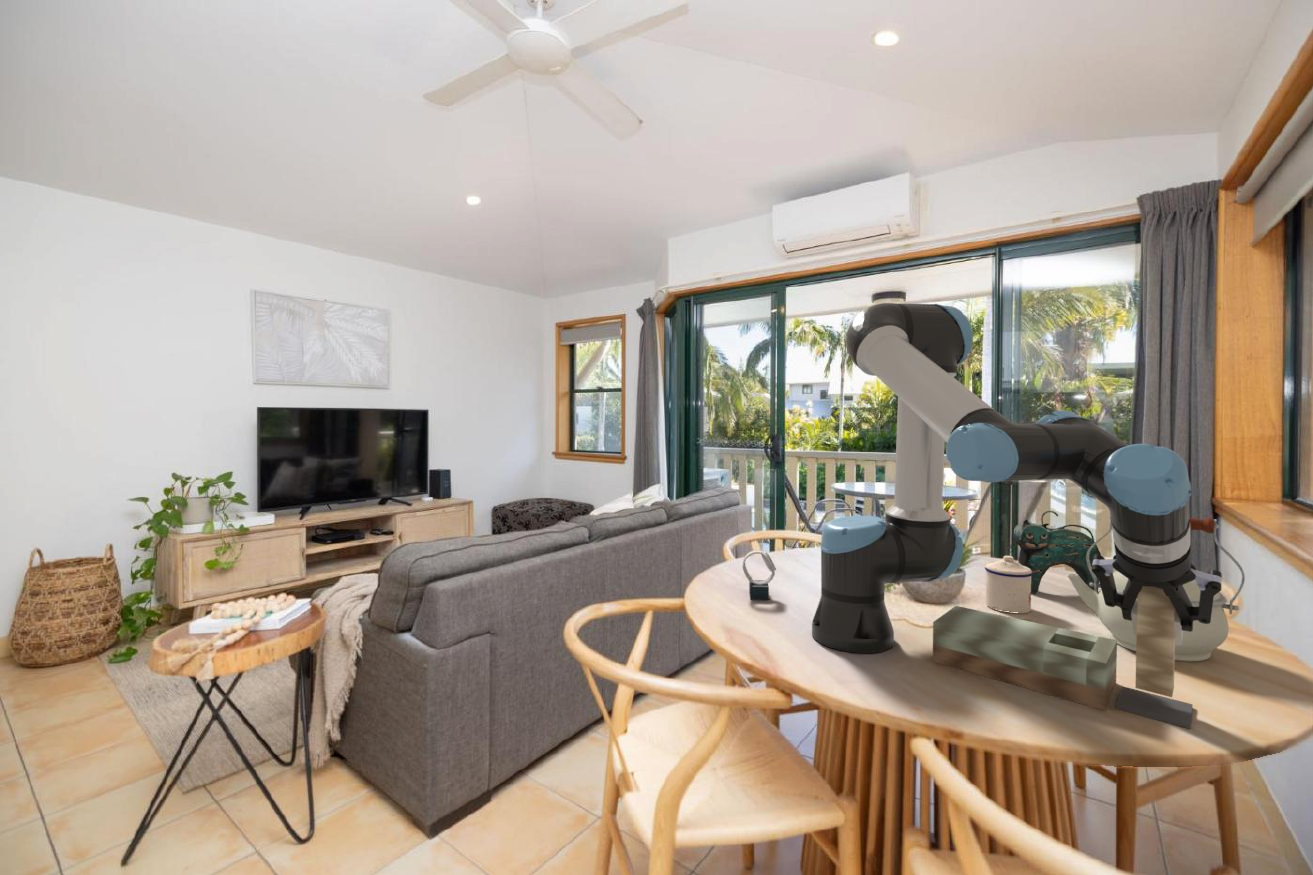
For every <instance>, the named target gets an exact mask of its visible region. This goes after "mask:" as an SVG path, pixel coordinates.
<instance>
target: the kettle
mask: <svg viewBox="0 0 1313 875" xmlns="http://www.w3.org/2000/svg"><path fill="white" fill-rule="evenodd" d="M1108 518H1109V519H1110V522H1109V529H1108V531H1107V532H1106V533H1104V534H1103V535H1102V536H1101V537H1100V538H1098V539H1097V540H1096V541H1094V542H1095V543H1094V544H1093V545H1092V546H1091V547H1090V548H1089V550H1088V551H1087V555H1086V560H1087V565H1088V568H1089V570H1090V573H1091V575H1092V577H1093V579H1094V583H1092V582H1091V583H1090V584H1089V585H1090V586H1091V587H1093V586H1094V590H1092V589H1091V588H1090V587H1089V586H1087V585H1086V584H1085V583H1084V581H1083V580H1082V579H1081V578H1080V576H1079V575H1078V574H1076V573H1068V574H1066V576H1067V577H1068V579H1069V581H1070V583H1071V584H1072V586H1073V588H1074V589H1075V591H1076V592H1077V594H1078V595H1079V597H1080V599H1081V600H1082V601H1083V602H1084V603H1085V604H1086V605H1087V606H1088V608H1090V609H1091V610H1092V611H1093V612H1095V613H1096V615H1097V617H1098V619H1099V621H1100V623H1102V625H1103V626H1104V627H1105V628H1106V629H1107V630H1108V631H1109V633H1108V636H1109V637H1110V638H1109V639H1113V640H1117V645H1119V646H1121V647H1123V648H1125V649H1126V650H1130V651H1132V652H1135V653H1136V644H1137V636H1134V633H1133V625H1132V621H1130V620H1125V619H1124V618H1123V615H1122V610H1121V608H1120V607H1118V606H1115V607H1109V606H1107V605H1106V604H1105V601H1104V597H1103V593H1102V589H1101V586H1100V582H1099V584H1098V583H1097V578H1096V576H1095V574H1094V573H1093V572H1092V567H1091V564H1090V560H1089V553H1090V550H1091V549H1092V548H1093V546H1094V545H1097V544H1098V543H1099V542H1100V541H1102V540H1103V539H1104V538H1105V537H1106V536H1107V535H1109V534H1110V532H1111V531H1112V522H1111V516H1110V514H1108ZM1189 520H1190V531H1203V532H1205V533H1206V534H1213V539H1214V542H1215V544H1216V546H1217V547H1218V548H1219V549H1221V551H1223V553H1224V554H1225V555H1226V556H1228V558H1229V559H1230V560H1231V561H1232V562H1234V564H1235V565H1236V566H1237V567H1238V569H1239V571H1240V573H1241V581H1240V583H1239V586H1238V588H1237V590H1236V592H1234V594H1233V595H1232V597H1231V598H1230V600H1229V603H1228V604H1227V601H1228V600H1227V597H1226V596H1225V595H1223V594H1222V593H1220V592H1218V593H1217V594H1216V595H1214V598H1213V606H1212V614H1211V622H1210V623H1209V624H1204V623H1201V622H1199V621H1198V620H1195V621H1193V631H1191V632H1189V631H1184V630H1183V636H1182V646H1180V645H1176V644H1175V662H1187V663H1188V662H1189V663H1190V662H1191V663H1192V662H1201V661H1202V662H1203V661H1206V660H1208V659H1210V658H1211V656H1212V651H1214V650H1215V649H1217V648H1218V647H1220V646H1221V645H1223V644H1224V642H1225V641H1226V640H1227V637H1228V635H1229V629H1230V628H1229V622H1228V618H1227V615H1226V612H1225V610H1226V609H1227V610H1228V611H1229V614H1230V615H1232V614H1233V611H1240V607H1239V606H1238V605H1234V604H1233V603H1234V602H1235V600H1236V599H1237V597H1238V596H1239V595H1240V593H1241V591H1242V589H1243V587H1244V584H1245V578H1246V577H1245V572H1244V569H1243V567H1242V566H1241V564H1240V563H1239V561H1237V560H1236V559H1235V558H1234V556H1233V555H1232V554H1231V553H1230V552H1229V551H1228V550H1226V549H1225V547H1223V546H1222V544H1221V543H1219V540H1218V538H1217V529H1219V528H1220V525H1219V524H1218V523H1217V519H1214V518H1212V517H1207V518H1204V519H1201V518H1195V517H1194V518H1193V517H1190V518H1189ZM1113 576H1114V580H1115V585H1116V589H1117V593H1118V594H1121V595H1123V590H1124V589H1125V587H1126V584H1127V582H1128V578H1127V577H1125V576H1124V575H1122V574H1121V573H1119V572H1118V571H1117V570H1115V569H1113ZM1183 587H1184V589H1185V591H1186V593H1187V595H1188V597H1189V599H1190V601H1191V603H1192V605H1193V607H1199V599H1200V589H1199V586H1198V585H1197V584H1196V581H1195V580H1193V581H1191V582H1188V583H1186V584H1183ZM1097 588H1098V589H1100V590H1098V592H1096V591H1097ZM1137 599H1138V596H1137Z"/></svg>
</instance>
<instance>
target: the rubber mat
mask: <svg viewBox="0 0 1313 875" xmlns="http://www.w3.org/2000/svg"><path fill="white" fill-rule="evenodd" d="M1115 709H1118V710H1121V711H1125V712H1128V713H1132V714H1135V715H1138V716H1143V717H1146V718H1149V719H1154V720H1157V721H1161V722H1164V723H1167V724H1171V725H1175V726H1178V727H1181V728H1185V729H1187V730H1188V729H1189V730H1191V724H1192V716H1193V703H1189V702H1184V701H1180V700H1178V699H1174V698H1171V697H1167V696H1163V695H1159V694H1158V695H1157V694H1155V693H1152V692H1151V693H1150V692H1148V691H1144V690H1140V689H1136V688H1135V689H1134V688H1131V687H1127V686H1122V687H1121V690H1120V692H1119V695H1118V698H1117V700H1116V703H1115Z"/></svg>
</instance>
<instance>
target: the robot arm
mask: <svg viewBox="0 0 1313 875" xmlns="http://www.w3.org/2000/svg"><path fill="white" fill-rule="evenodd" d="M845 336H846V337H845V347H846V352H847V353H848V356H849V358H850V359H851V361H852V363H854V364H855V366H856V367H857V368H859V370H861V372H863V373H864V374H867V375H868V376H876V377H877V378H878V379H879V380H880V381H881V382H882V383H883V384H884V385H885V386H886V387H888V389H890V391H891V392H892V393H894V395H895V396H896V397H897V417H896V418H897V419H896V421H897V422H896V444H895V445H896V446H895V447H896V450H895V470H894V471H895V474H894V476H895V477H894V496H893V497H894V501H893V504H892V505H891V506H890V507H888V508H887V509H886V510H885V520H884V519H883V518H882V517H879V516H876V515H875V516H874V515H867V514H865V515H863V514H862V515H849V516H848V515H847V516H842V517H836V518H834V519H831V520H829V521H827V523H825V524H824V526H823V527H822V530H821V538H820V539H821V540H820V544H819V546H820V549H821V550H820V553H821V554H820V555H821V557H820V560H821V561H820V573H821V575H820V579H821V580H820V582H821V583H820V584H821V587H820V588H821V590H820V592H821V593H820V595H821V596H820V599H819V600H818V601H819V602H818V604H817V607H816V610H815V613H814V616H813V620H812V622H811V636H812V637H813V638H814V640H815V641H817V642H818V643H820V644H821V645H824V646H826V647H828V648H832V649H835V650H838V651H840V652H841V651H842V652H846V653H853V654H854V653H855V654H856V653H857V654H876V653H882V652H886V651H888V650H890V649H891V648H892V647H894V645H895V631H894V628H893V625H892V624H893V623H892V620H891V619H890V615H889V613H888V609H887V606H886V603H885V586H886V585H885V584H897V583H898V584H899V583H900V584H901V583H916V582H924V583H931V582H934V581H936V580H938V581H939V580H944V579H947V578H949V577H951V575H953V574H954V573H956V571H957V570H958V569H959V568H960V565H961V563H962V561H963V555H964V542H963V539H962V537H960V534H961V533H960V531H959V529H958V528H957V527H956V526H955V525H954V523H951V515H950V514H949V513H948V512H947V511H946V510H945V509H944V507H943V491H944V489H943V488H944V468H945V467H944V465H945V457H946V460H947V461H949V463H950V469H951V471H952V472H953V473H954V475H956V476H957V477H959V478H960V479H963V480H965V481H970V482H982V483H983V482H984V483H989V484H990V483H999V482H1013V481H1014V482H1015V481H1017V482H1018V481H1035V480H1037V481H1040V480H1045V481H1046V480H1068V481H1072V482H1073V483H1075V484H1076V486H1078V487H1079V488H1081V489H1082V490H1083V491H1085V492H1087V493H1088V494H1089V495H1091V496H1092V497H1094V498H1095V499H1097V500H1098V501H1099V502H1101V503H1102V504H1104V506H1106V507H1107V509H1108V510H1109V515H1110V516H1111V518H1110V519H1111V522H1112V530H1111V531H1112V538H1113V541H1114V542H1113V544H1114V552H1115V555H1113V557H1112V558H1108V559H1106V558H1105V557H1104V556H1103V555H1102V554H1101V555H1094V558H1093V564H1092V572H1093V573H1094V574H1095V575H1096V576H1097V577H1098V578H1099V582H1100V583H1099V584H1100V586H1101V588H1100V590H1101V589H1102V593H1103V597H1104V601H1105V604H1106V605H1107V606H1109V607H1115V606H1118V607H1120V608H1121V610H1122V615H1123V618H1124V619H1125V620H1130V621H1132V625H1133V633H1134V636H1137V602H1138V599H1137V596H1138V594H1139V592H1140V591H1141V589H1142V587H1143V586H1149V587H1156V588H1160V589H1163V591H1164V593H1165V595H1166V596H1168V597H1169V599H1170V601H1171V603H1172V604H1173V606H1174V608H1175V618H1174V627H1175V644H1176V645H1180V646H1182V636H1183V630H1184V631H1189V632H1191V631H1193V621H1195V620H1198V621H1199V622H1201V623H1204V624H1209V623H1210V622H1211V614H1212V606H1213V598H1214V595H1216V594H1217V593H1218V592H1219V593H1220V592H1221V591H1222V578H1223V577H1222V576H1223V574H1222V572H1221V571H1219V570H1216V569H1215V570H1213V569H1212V570H1208V571H1207V572H1204V571H1201V570H1198V569H1197V567H1196V566H1195V565H1194V564H1193V563H1192V560H1191V557H1192V555H1191V553H1192V552H1191V530H1190V520H1189V518H1191V517H1190V516H1191V514H1190V513H1191V512H1190V510H1191V509H1190V505H1191V504H1190V500H1191V496H1192V484H1191V481H1190V477H1189V472H1188V467H1187V464H1186V462H1185V461H1184V458H1183V457H1181V455H1180V454H1178V453H1177V452H1175V451H1174V450H1172V449H1170V448H1168V447H1165V446H1157V445H1152V444H1150V443H1134V444H1130V445H1129V444H1128V443H1126V442H1124V441H1122V440H1121V439H1120V438H1118V437H1117V436H1115V435H1113V434H1111V433H1110V432H1108V431H1107V430H1105V429H1104V428H1102V427H1100V426H1099V425H1097V424H1096V422H1094V421H1092V420H1090V419H1089V418H1087V417H1084V416H1081V415H1079V414H1077V413H1075V412H1073V411H1070V410H1063V409H1061V410H1060V409H1059V410H1055V411H1053V412H1052V413H1051V414H1046V415H1043V416H1042V417H1040V418H1039V419H1038V420H1037V421H1036V422H1035V423H1014V422H1012V421H1010V420H1009V419H1008V418H1007V417H1006V416H1004V415H1002V414H1001V413H1000V412H998V411H997V410H995V409H994V408H993V407H992V406H990V405H989V404H988V403H987V402H985V401H984V400H983V399H982V398H980V396H977V395H976V394H975V393H974V392H972V391H971V390H970V389H969V388H967V387H966V386H965V385H964V384H963V383H961V382H960V381H958V380H957V379H956V378H955V377H956V376H957V374H958V373H957V372H958V371H957V368H958V366H959V365H961V364H963V363H964V362H965V361H966V360H967V359H968V357H969V355H968V354H970V353H971V351H972V349H973V344H974V343H973V342H974V333H973V328H972V325H971V322H970V320H969V319H968V317H967V316H966V315H965V314H964V313H963V311H961V310H960V309H959V308H957V307H954V306H951V305H942V304H938V303H934V304H933V303H930V304H929V303H893V302H882V303H877V304H873V305H871V306H868V307H867V308H864V309H863V310H862V311H861V312H859V313H857V315H856V316H855V317H854V319H852V321H851V322H850V324H849V326H848V329H847V333H846V335H845ZM945 442H946V447H945ZM945 455H946V456H945ZM1075 484H1074V485H1075ZM1113 569H1115V570H1117V571H1118V572H1119V573H1121V574H1122V575H1124V576H1125V577H1127V578H1128V582H1127V584H1126V587H1125V589H1124V590H1123V595H1121V594H1118V593H1117V589H1116V585H1115V580H1114V576H1113ZM1193 580H1195V581H1196V584H1197V585H1198V586H1199V589H1200V599H1199V607H1193V605H1192V603H1191V601H1190V599H1189V597H1188V595H1187V593H1186V591H1185V589H1184V587H1183V584H1186V583H1188V582H1191V581H1193Z"/></svg>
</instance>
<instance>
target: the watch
mask: <svg viewBox="0 0 1313 875" xmlns="http://www.w3.org/2000/svg"><path fill="white" fill-rule="evenodd" d="M755 554H757V555H758V554H760V555H761V557H762V560H763V562H764V563H765V566H766V568H767V569H768V570H769V571H770V572H771V575H770V576H769V577H768V578H767V579H765V580H763V579H762V580H761V579H759V580H758V579H756V580H755V579H753V576H752V575H751V574H750V573H749V570H748V569H747V566H746V560H747V559H748V558H749V557H750V556H752V555H755ZM742 570H743V573H744V575H745V578H746V579H747V580H748V585H749V586H748V587H749V590H748V592H749V599H750V600H751V601H755V600H756V601H769V600H770V598H769V596H770V592H769V591H770V589H769V588H770V587H769V583H770V582H771V581H772V580H773V579H774V577H775V574H776V573H775V571H777V568H776V565H775V564H774V562H773V559H772V558H771V556H770V554H769V553H768V552H767V551H763V550H758V549H755V550H751V551H749V552H748V553H747V554H745V556H744V557H743V560H742Z"/></svg>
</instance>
